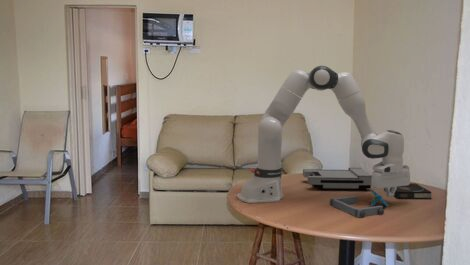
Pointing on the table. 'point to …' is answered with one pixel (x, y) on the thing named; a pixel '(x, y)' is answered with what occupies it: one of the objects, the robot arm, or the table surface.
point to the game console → (339, 179)
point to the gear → (377, 199)
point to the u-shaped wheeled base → (362, 212)
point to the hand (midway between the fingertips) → (390, 196)
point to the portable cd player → (411, 192)
